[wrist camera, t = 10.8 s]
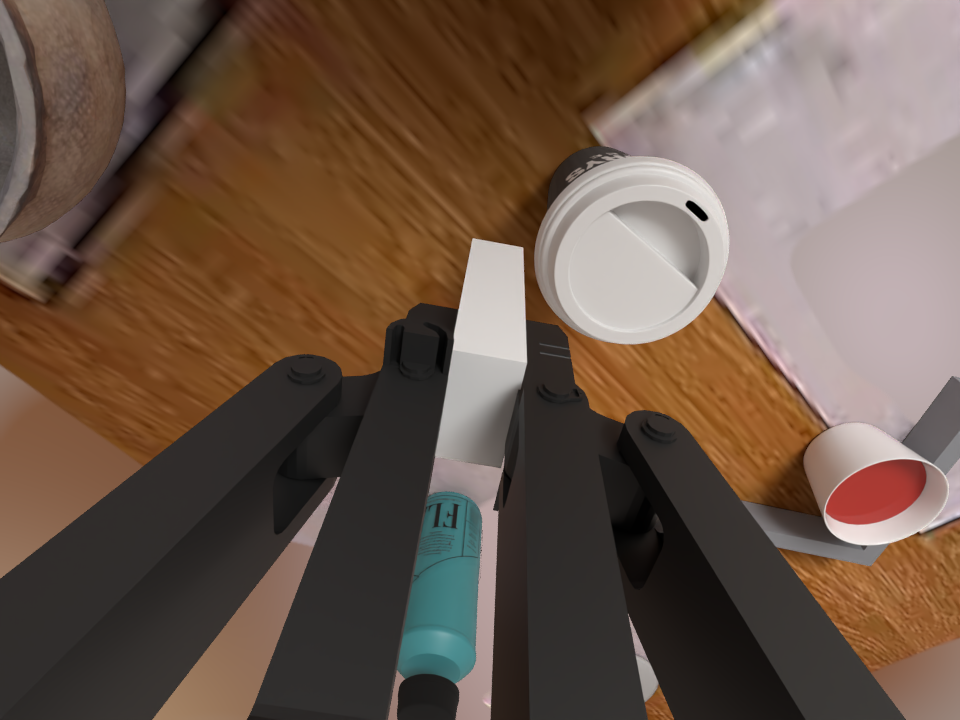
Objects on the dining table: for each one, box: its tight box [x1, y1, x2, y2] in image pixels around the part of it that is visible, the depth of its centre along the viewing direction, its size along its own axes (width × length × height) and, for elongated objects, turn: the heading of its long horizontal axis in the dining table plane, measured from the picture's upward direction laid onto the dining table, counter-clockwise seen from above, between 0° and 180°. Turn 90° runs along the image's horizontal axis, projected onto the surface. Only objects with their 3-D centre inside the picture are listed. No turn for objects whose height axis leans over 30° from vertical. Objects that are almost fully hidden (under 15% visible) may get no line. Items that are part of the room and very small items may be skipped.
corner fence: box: [741, 376, 960, 566], centre depth 48 cm, size 18×14×4 cm
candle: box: [803, 422, 949, 545], centre depth 47 cm, size 9×9×6 cm
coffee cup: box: [534, 146, 729, 344], centre depth 33 cm, size 10×10×15 cm
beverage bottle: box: [397, 492, 482, 720], centre depth 46 cm, size 6×7×20 cm
